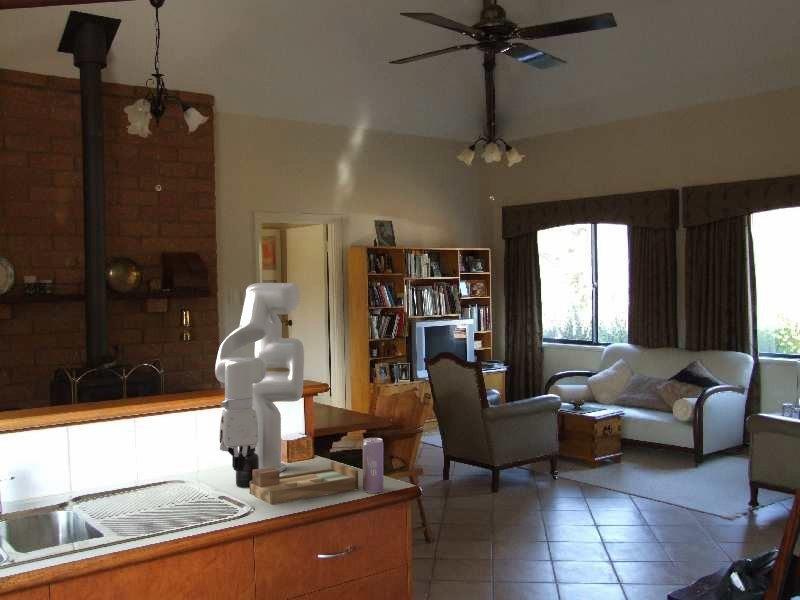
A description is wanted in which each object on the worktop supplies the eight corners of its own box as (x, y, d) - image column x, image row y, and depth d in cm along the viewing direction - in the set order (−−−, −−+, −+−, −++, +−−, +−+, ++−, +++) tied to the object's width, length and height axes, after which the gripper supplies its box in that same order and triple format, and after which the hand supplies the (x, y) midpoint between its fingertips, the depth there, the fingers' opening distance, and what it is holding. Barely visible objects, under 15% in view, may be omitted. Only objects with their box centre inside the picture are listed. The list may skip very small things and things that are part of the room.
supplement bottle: (263, 484, 245) (263, 444, 244) (248, 489, 239) (248, 448, 238) (246, 481, 248) (246, 441, 248) (230, 486, 242) (230, 445, 242)
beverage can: (384, 488, 240) (384, 437, 239) (381, 494, 234) (382, 442, 233) (364, 488, 240) (364, 437, 240) (361, 493, 234) (361, 441, 234)
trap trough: (249, 493, 234) (249, 474, 234) (333, 479, 250) (333, 461, 250) (271, 504, 223) (271, 484, 222) (358, 489, 239) (358, 470, 239)
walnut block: (252, 483, 233) (252, 469, 233) (271, 480, 237) (271, 467, 237) (260, 487, 229) (260, 473, 229) (279, 484, 233) (279, 470, 233)
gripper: (218, 407, 219) (218, 476, 219) (269, 403, 228) (268, 469, 228) (207, 404, 226) (207, 471, 226) (257, 401, 234) (257, 465, 234)
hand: (238, 470), depth 227 cm, fingers closed
